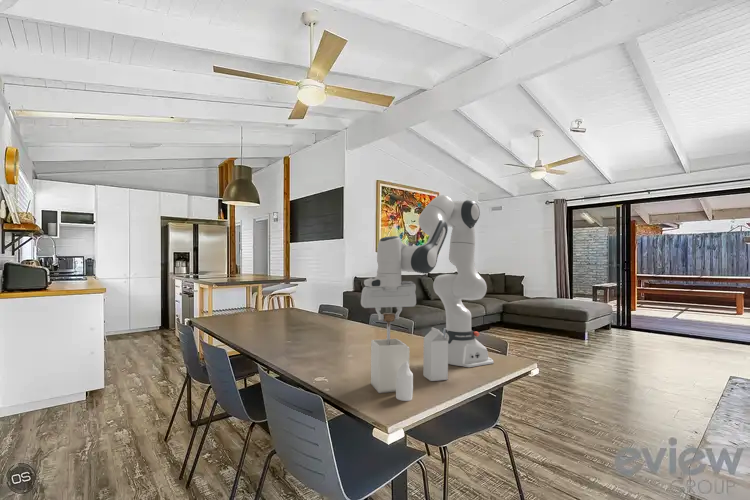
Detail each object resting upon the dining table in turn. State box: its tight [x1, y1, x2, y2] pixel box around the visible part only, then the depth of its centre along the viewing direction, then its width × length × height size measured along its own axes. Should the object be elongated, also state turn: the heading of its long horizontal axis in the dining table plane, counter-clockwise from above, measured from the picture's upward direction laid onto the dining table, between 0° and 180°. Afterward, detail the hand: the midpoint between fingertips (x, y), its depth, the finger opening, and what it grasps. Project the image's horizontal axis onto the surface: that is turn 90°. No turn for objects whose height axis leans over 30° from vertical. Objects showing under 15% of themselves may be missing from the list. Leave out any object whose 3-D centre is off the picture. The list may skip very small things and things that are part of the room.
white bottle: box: [395, 362, 414, 402], centre depth 125 cm, size 6×12×6 cm
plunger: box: [382, 312, 396, 345], centre depth 135 cm, size 8×8×16 cm
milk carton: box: [422, 327, 449, 382], centre depth 145 cm, size 7×7×19 cm
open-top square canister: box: [370, 338, 410, 394], centre depth 135 cm, size 13×10×16 cm
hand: (388, 319), depth 135 cm, fingers closed on plunger, 4 cm apart
